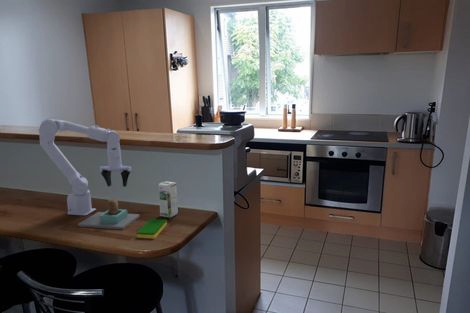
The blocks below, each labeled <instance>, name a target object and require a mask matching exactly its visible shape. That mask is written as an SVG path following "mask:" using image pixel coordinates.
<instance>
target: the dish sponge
mask: <svg viewBox="0 0 470 313" xmlns="http://www.w3.org/2000/svg"><path fill="white" fill-rule="evenodd" d="M167 225H168V220H167V219H159V218H157V219H154V218H150V219H149V220H148V221H147V222H146V223H145V224H144V225H142V227H141V228H139V229H138V231H137V232H136V238H138V239H139V238H140V239H156V238H157V237H158V235H159V234H161V232H162V231H163V230H164V229H165V227H166V226H167Z"/></svg>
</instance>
